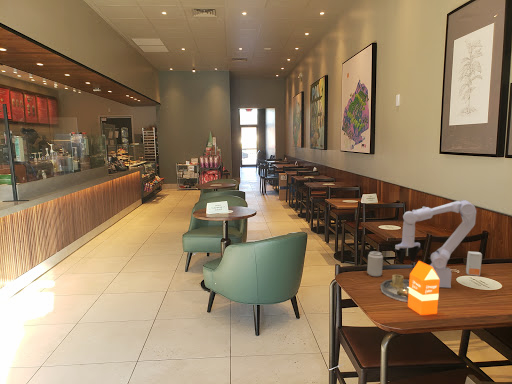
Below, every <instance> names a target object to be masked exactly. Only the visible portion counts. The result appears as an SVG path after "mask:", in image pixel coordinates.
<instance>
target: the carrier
mask: <svg viewBox="0 0 512 384" xmlns="http://www.w3.org/2000/svg"><path fill="white" fill-rule="evenodd" d="M409 281H410V279H408V278H407V279H404V278H403V284H405V285H403V287H398V288H396V287H393V286H392V285H390V283H391V282H392V278H391V279H385V280H383V282H381V283H380V292H382V293H383V295H384V296H386V297H388V298H390V299H393V300H396V301H399V302H404V303H408V295H409Z"/></svg>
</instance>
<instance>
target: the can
mask: <svg viewBox="0 0 512 384" xmlns="http://www.w3.org/2000/svg"><path fill="white" fill-rule="evenodd" d="M382 254H383V253H382V252H380V251H375V250H373V251H370V252H369V253H368V255H367V269H366V270H367V271H366V272H367V274H368V275H369V276H371V277H381V276H382V275H383V261H384V255H382Z"/></svg>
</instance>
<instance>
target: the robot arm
mask: <svg viewBox="0 0 512 384" xmlns="http://www.w3.org/2000/svg"><path fill="white" fill-rule="evenodd" d="M421 207H422V208H418V209H412V211H411V210H408V211H405V212H404V214H403V215H402V218H403V225H402V234H401V235H402V237H401V242H400V243H398V244H395V246H394V247H395V248H394V251H395V253H396V255H397V259H398V260H397V261H398V263H400V264H404V261H405V255H406V252H407V251H406V249H409V253H410V255H409V259H410V261H411V262H413V263H415V261H416V258H417V257H418V253H419V252H420V251H421V243H420V242H419V241H418V242H415V237H416V236H415V235H416V223H417V222H421V221H425V220H428V219H429V220H430V219H432V218H433V216H435V215H440V214H443V213H449V212H453V213H456V214H460V216H461V217H460V218H461V223H460V224H459V225H458V226H457V228H456V229H455V230H454V232H452V234H451V235H450V236H449V237H448V239H447V240H446V241H445V242H444V243H443V245H442V246H441V247H439V248H438V249H437V250H436V251H434V252H432V253H431V254H430V261H431V263H430V264H429V265H430V266H432V267H433V269H434V270H435V272H436V274H437V276H438V277H439V279H440V281H439V288H446V289H451V288H452V286H451V285H452V284H451V283H452V270H451V268H450V267H447V264H448V261H449V260H450V257H451V254H452V253H453V252H454V251H455V250H456V249H457V247H458V246H459V245H460V244H461V242H462V241H463V240H464V239H465V238H466V236H467V235H468V234H469V233H470V232H471V230H472V229H474V226H475V225H476V220H477V219H476V218H477V208H476V206H475V205H474V204H473V203H471V202H470V201H469V200H466V199H461V200H456V201H453V202H449V203H446V204H442V205H439V206H435V207H432V208H431V207H428V206H421Z"/></svg>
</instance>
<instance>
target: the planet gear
mask: <svg viewBox="0 0 512 384" xmlns="http://www.w3.org/2000/svg"><path fill="white" fill-rule="evenodd" d="M391 276H392V278H391V279H392V282H391V283H390V285H392V286H393V287H396V288H398V287H403V285H405V284H403V279H404V275H403V274H396V273H395V274H392V275H391Z"/></svg>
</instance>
